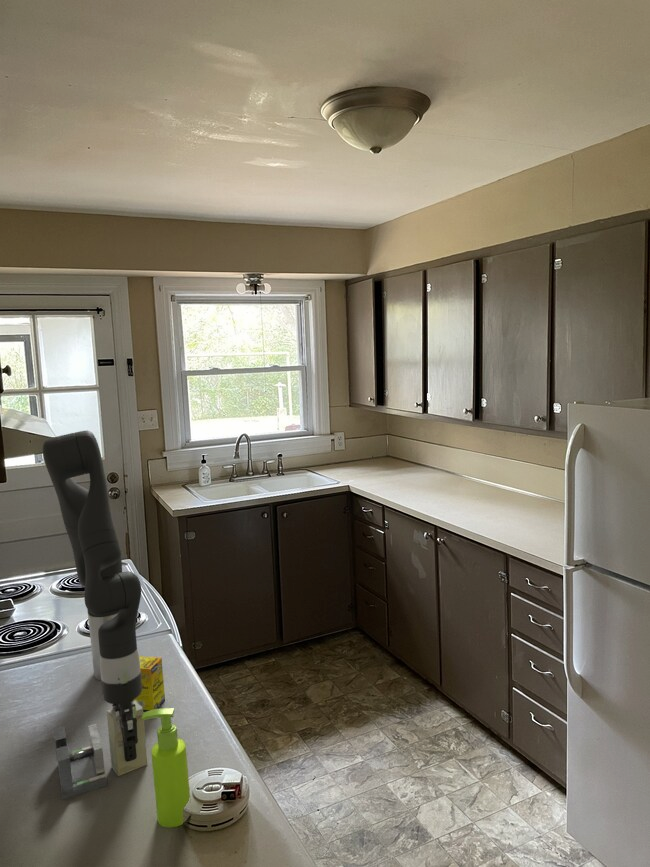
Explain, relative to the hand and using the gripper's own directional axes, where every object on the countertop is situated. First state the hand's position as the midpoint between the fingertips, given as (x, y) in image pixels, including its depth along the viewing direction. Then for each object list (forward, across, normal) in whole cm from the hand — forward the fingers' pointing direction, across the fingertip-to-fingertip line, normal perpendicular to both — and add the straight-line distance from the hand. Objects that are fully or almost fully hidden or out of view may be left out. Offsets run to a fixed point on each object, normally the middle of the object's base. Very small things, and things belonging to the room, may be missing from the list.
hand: (128, 752), depth 129 cm
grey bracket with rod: (+3, -2, -9) cm, 10 cm away
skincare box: (+3, 0, 0) cm, 3 cm away
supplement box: (+3, -21, +8) cm, 23 cm away
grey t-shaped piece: (+2, -2, -9) cm, 9 cm away
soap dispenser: (+3, +19, +4) cm, 20 cm away
